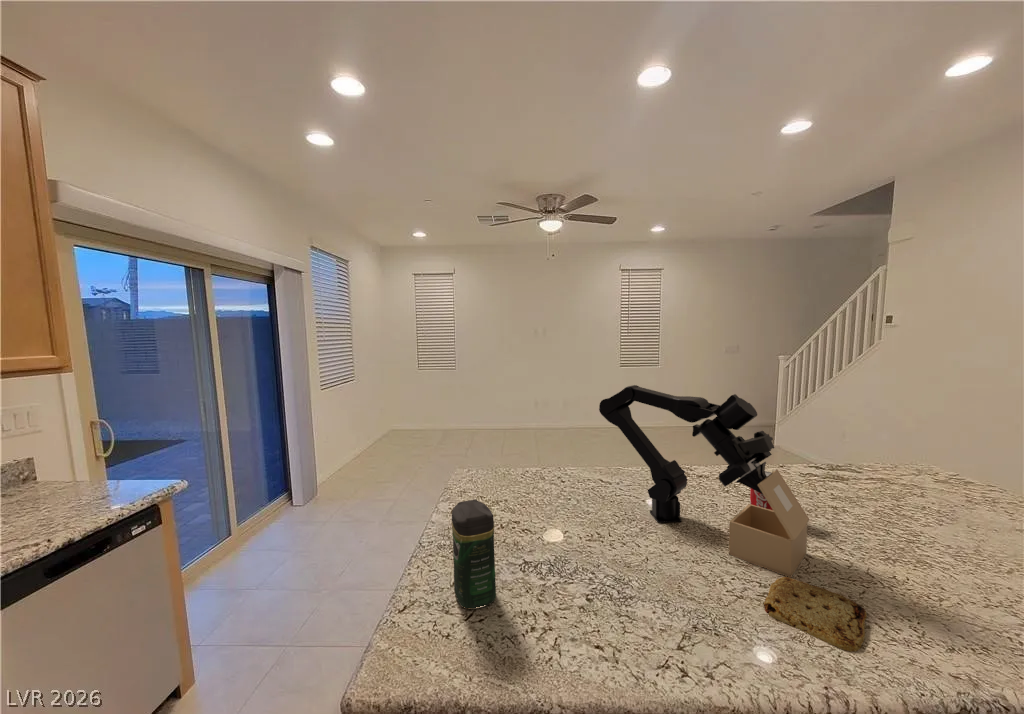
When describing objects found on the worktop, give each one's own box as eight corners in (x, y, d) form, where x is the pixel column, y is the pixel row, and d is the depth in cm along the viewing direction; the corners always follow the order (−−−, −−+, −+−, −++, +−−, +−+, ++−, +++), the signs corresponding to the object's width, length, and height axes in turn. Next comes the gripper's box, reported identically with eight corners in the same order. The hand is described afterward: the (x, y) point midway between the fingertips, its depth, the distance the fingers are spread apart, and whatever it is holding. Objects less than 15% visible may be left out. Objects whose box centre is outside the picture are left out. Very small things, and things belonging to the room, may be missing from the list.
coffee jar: (501, 604, 77) (498, 512, 75) (462, 616, 74) (458, 520, 73) (486, 576, 86) (483, 493, 84) (450, 585, 83) (447, 500, 82)
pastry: (741, 585, 81) (741, 571, 81) (827, 585, 80) (827, 570, 80) (799, 654, 64) (799, 636, 64) (909, 654, 63) (910, 636, 63)
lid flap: (757, 484, 86) (760, 483, 86) (774, 470, 94) (777, 469, 94) (791, 540, 82) (795, 539, 81) (807, 520, 90) (810, 519, 89)
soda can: (785, 524, 104) (786, 480, 103) (756, 522, 106) (756, 478, 105) (773, 511, 111) (774, 470, 110) (745, 510, 112) (746, 469, 112)
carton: (729, 554, 91) (729, 521, 91) (748, 534, 100) (749, 503, 99) (790, 577, 82) (791, 541, 82) (806, 553, 91) (807, 520, 90)
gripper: (734, 429, 86) (793, 493, 78) (762, 415, 98) (816, 469, 91) (697, 456, 92) (749, 517, 85) (728, 440, 105) (775, 492, 97)
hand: (774, 497), depth 89 cm, fingers closed, pressing on lid flap
